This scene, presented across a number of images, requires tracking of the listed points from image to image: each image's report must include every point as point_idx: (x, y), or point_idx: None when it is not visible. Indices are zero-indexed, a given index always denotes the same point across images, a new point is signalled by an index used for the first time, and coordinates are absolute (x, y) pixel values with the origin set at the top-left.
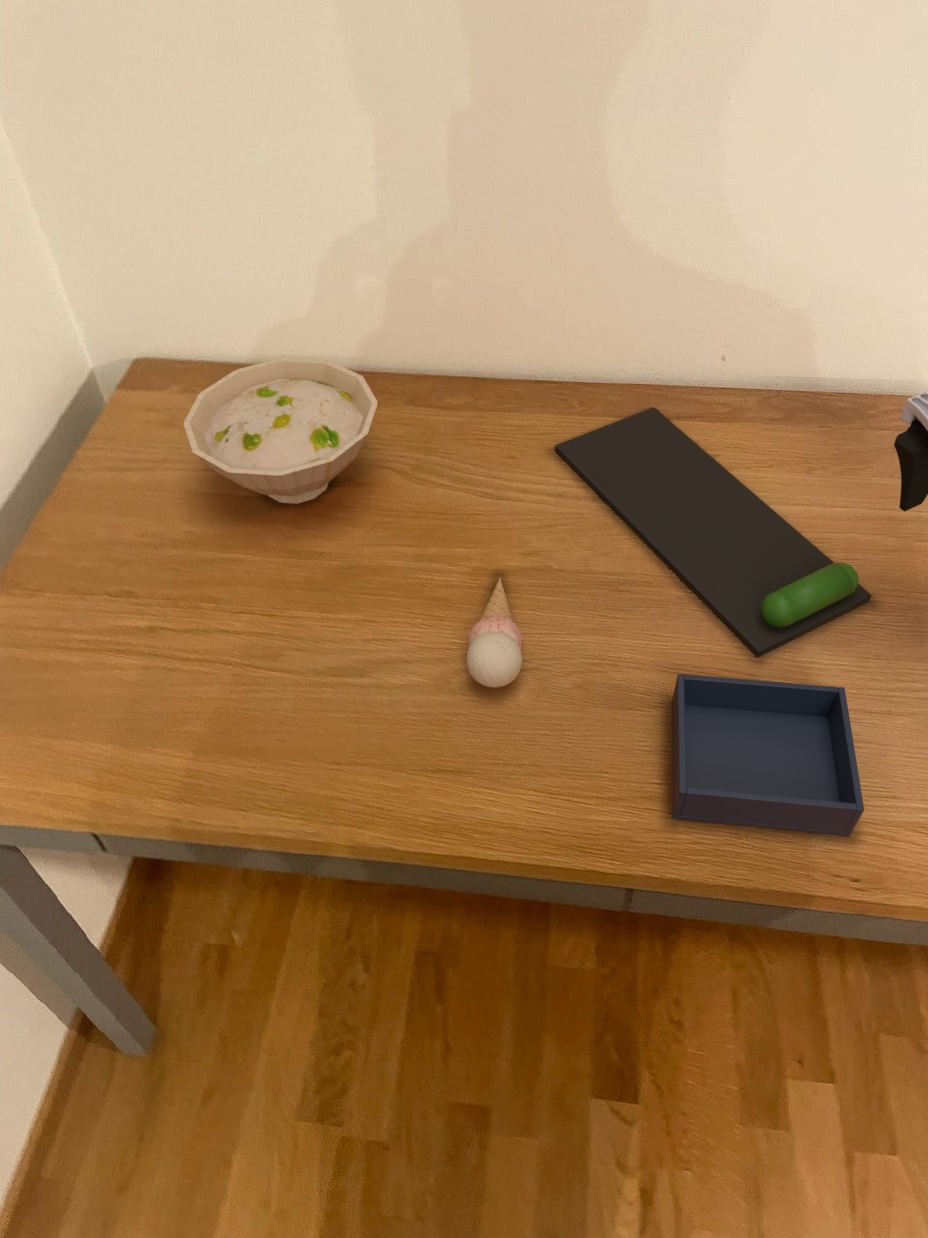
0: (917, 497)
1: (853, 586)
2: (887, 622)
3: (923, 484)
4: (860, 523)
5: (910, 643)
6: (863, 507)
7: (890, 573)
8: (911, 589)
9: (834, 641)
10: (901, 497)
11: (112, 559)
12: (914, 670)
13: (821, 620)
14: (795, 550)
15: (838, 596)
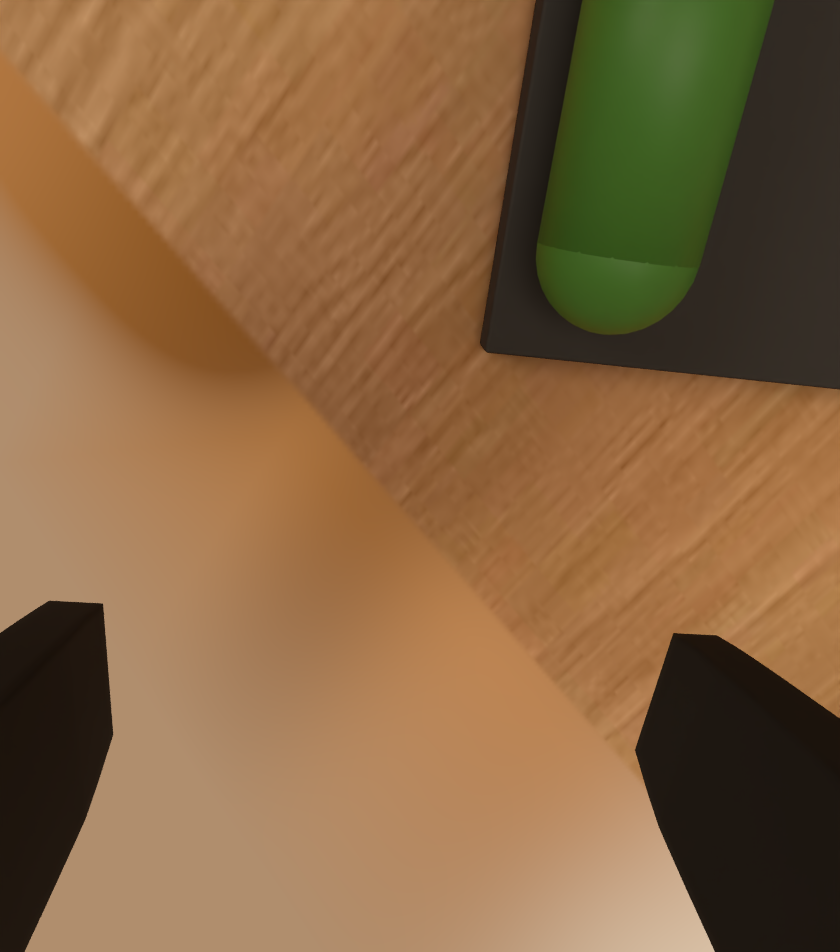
0: (693, 759)
1: (550, 249)
2: (372, 313)
3: (752, 871)
4: (703, 590)
5: (253, 297)
6: (731, 643)
7: (511, 501)
8: (422, 499)
9: (432, 47)
10: (781, 684)
11: None
12: (145, 194)
13: (534, 57)
14: (819, 305)
15: (561, 151)
